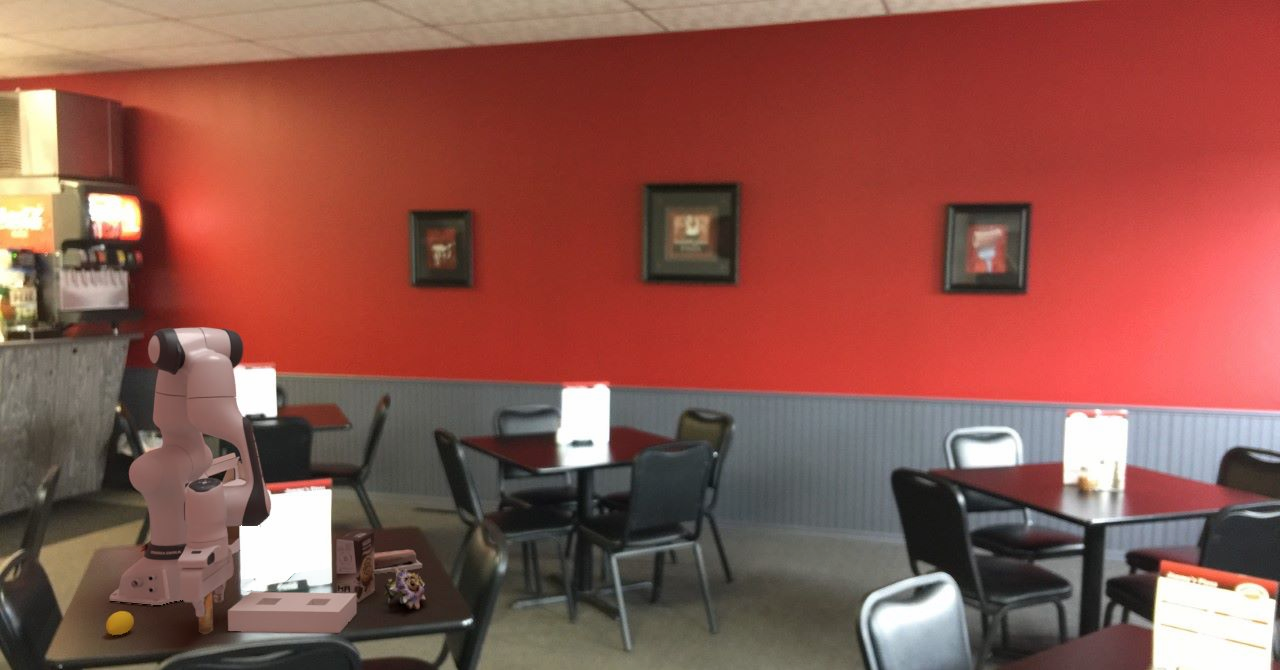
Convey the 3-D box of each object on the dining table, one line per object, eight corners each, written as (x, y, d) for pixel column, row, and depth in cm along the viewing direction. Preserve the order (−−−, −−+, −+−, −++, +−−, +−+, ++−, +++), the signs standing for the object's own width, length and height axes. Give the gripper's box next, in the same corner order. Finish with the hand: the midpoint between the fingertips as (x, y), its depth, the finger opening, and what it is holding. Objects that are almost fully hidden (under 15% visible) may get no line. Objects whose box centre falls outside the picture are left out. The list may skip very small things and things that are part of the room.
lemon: (122, 642, 223) (119, 620, 222) (100, 641, 224) (97, 619, 223) (141, 627, 230) (139, 605, 229) (120, 625, 231) (117, 604, 230)
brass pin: (196, 634, 227) (195, 591, 226) (202, 629, 230) (201, 587, 229) (209, 634, 227) (208, 592, 226) (215, 629, 230) (214, 587, 229)
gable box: (219, 561, 284) (217, 465, 282) (178, 558, 286) (175, 463, 284) (261, 540, 306) (259, 451, 304) (222, 538, 308) (220, 449, 306)
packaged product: (357, 561, 269) (350, 552, 278) (358, 578, 270) (350, 569, 278) (422, 553, 277) (413, 544, 286) (423, 569, 278) (414, 560, 287)
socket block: (228, 631, 229) (227, 610, 228) (251, 612, 242) (251, 592, 241) (339, 632, 228) (339, 611, 228) (356, 613, 241) (356, 593, 241)
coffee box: (359, 603, 249) (358, 540, 248) (335, 601, 250) (334, 538, 249) (375, 591, 258) (375, 531, 256) (353, 589, 259) (352, 529, 258)
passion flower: (416, 629, 245) (412, 601, 238) (375, 619, 247) (370, 590, 239) (433, 593, 254) (430, 564, 246) (394, 583, 255) (389, 554, 248)
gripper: (213, 538, 238) (215, 594, 238) (173, 563, 217) (176, 624, 218) (239, 537, 238) (241, 593, 239) (202, 562, 217) (204, 623, 218)
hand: (210, 608), depth 228 cm, fingers open, 8 cm apart
